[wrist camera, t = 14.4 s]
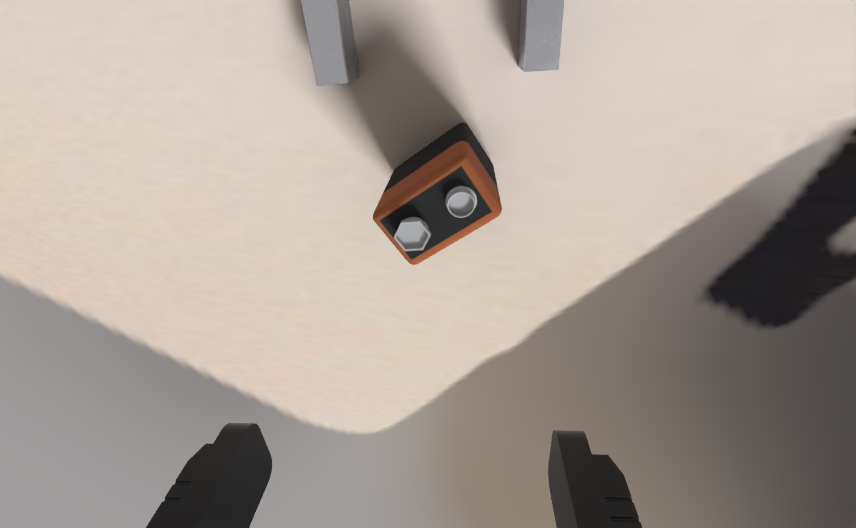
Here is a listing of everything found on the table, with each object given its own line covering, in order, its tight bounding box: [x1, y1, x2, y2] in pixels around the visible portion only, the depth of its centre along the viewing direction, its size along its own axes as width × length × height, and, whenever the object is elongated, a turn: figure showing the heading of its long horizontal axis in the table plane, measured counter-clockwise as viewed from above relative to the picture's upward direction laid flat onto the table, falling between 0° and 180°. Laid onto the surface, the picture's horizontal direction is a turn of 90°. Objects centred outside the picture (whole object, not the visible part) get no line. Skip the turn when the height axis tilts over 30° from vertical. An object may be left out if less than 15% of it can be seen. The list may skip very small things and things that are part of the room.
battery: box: [373, 123, 502, 265], centre depth 28 cm, size 4×7×10 cm, turn 125°
